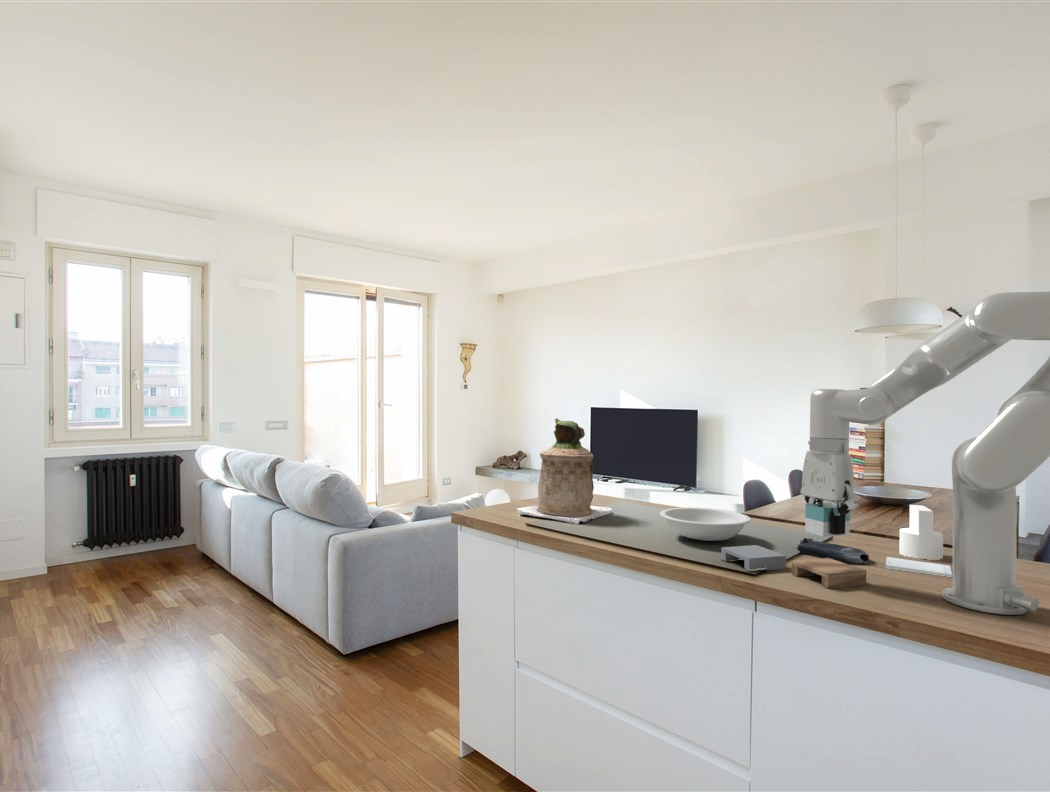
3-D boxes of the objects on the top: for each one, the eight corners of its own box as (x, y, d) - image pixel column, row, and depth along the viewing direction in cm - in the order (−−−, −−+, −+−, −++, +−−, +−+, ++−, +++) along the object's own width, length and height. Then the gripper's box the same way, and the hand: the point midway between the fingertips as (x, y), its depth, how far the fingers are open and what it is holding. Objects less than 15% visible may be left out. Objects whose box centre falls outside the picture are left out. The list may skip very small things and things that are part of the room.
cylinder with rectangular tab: (895, 549, 151) (895, 503, 151) (936, 553, 147) (936, 506, 148) (904, 558, 142) (904, 509, 142) (948, 562, 139) (948, 512, 139)
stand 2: (866, 584, 121) (866, 570, 121) (827, 588, 118) (828, 573, 118) (828, 571, 130) (828, 557, 130) (791, 574, 127) (791, 560, 127)
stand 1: (786, 568, 132) (786, 555, 132) (749, 572, 129) (749, 558, 129) (756, 557, 141) (756, 545, 141) (721, 560, 138) (721, 547, 138)
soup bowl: (741, 531, 170) (741, 509, 170) (759, 552, 146) (760, 526, 146) (657, 527, 174) (657, 505, 174) (662, 547, 150) (662, 521, 150)
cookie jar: (581, 525, 176) (582, 420, 176) (514, 516, 189) (515, 418, 189) (614, 513, 196) (615, 418, 197) (552, 505, 210) (553, 417, 210)
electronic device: (795, 560, 145) (860, 565, 134) (793, 538, 146) (858, 540, 135) (811, 559, 151) (875, 564, 140) (810, 537, 152) (872, 540, 141)
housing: (823, 536, 121) (823, 505, 121) (805, 531, 125) (805, 500, 125) (849, 535, 123) (850, 504, 123) (830, 529, 127) (831, 500, 128)
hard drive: (885, 564, 133) (952, 573, 126) (886, 556, 140) (950, 564, 133) (885, 571, 133) (952, 580, 126) (886, 563, 140) (950, 571, 133)
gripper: (785, 443, 131) (784, 523, 131) (847, 450, 115) (846, 541, 115) (812, 443, 133) (810, 522, 133) (877, 450, 117) (875, 539, 117)
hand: (827, 530), depth 124 cm, fingers closed on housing, 5 cm apart
